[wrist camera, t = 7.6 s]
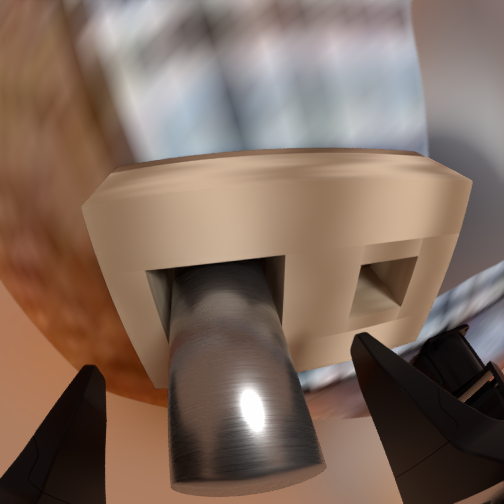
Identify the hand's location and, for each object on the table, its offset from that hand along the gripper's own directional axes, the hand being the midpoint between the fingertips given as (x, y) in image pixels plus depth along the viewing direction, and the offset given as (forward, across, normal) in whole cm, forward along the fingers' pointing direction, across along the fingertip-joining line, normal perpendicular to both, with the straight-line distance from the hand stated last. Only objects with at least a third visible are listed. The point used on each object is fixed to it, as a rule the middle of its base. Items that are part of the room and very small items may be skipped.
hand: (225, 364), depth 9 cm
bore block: (+7, -4, 0) cm, 8 cm away
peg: (+6, 0, 0) cm, 6 cm away
